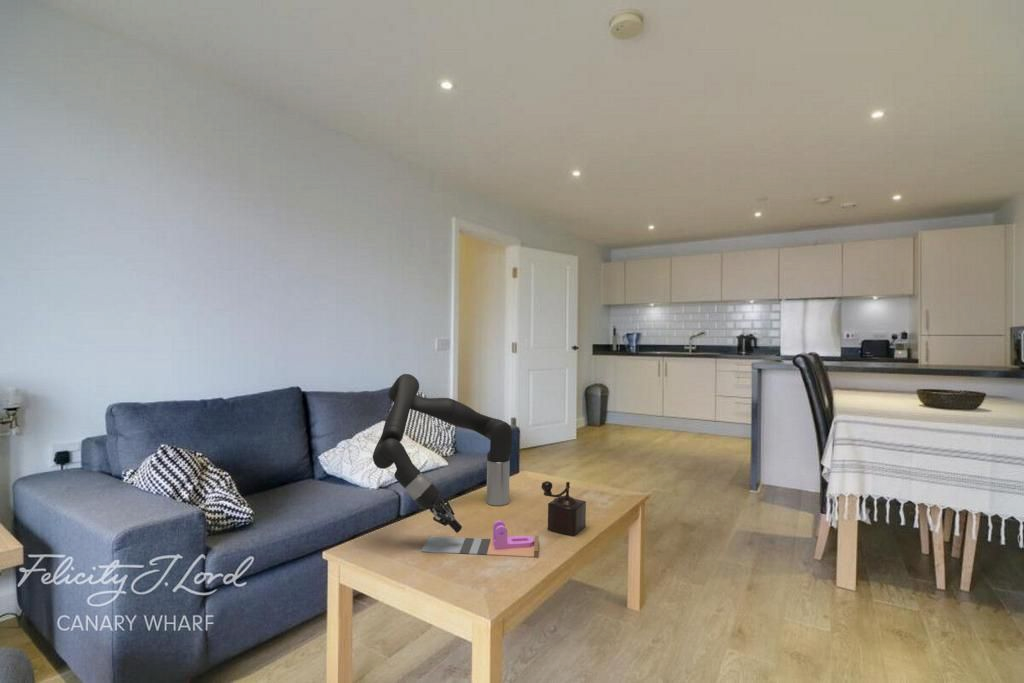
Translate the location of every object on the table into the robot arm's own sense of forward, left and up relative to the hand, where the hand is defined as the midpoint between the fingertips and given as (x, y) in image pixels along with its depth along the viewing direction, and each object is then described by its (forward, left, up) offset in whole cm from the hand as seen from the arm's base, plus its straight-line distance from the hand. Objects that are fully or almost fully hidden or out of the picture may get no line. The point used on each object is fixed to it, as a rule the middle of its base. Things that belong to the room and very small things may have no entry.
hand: (459, 530), depth 152 cm
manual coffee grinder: (-16, +33, -5) cm, 37 cm away
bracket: (-2, +17, -5) cm, 18 cm away
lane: (0, +8, -5) cm, 9 cm away
